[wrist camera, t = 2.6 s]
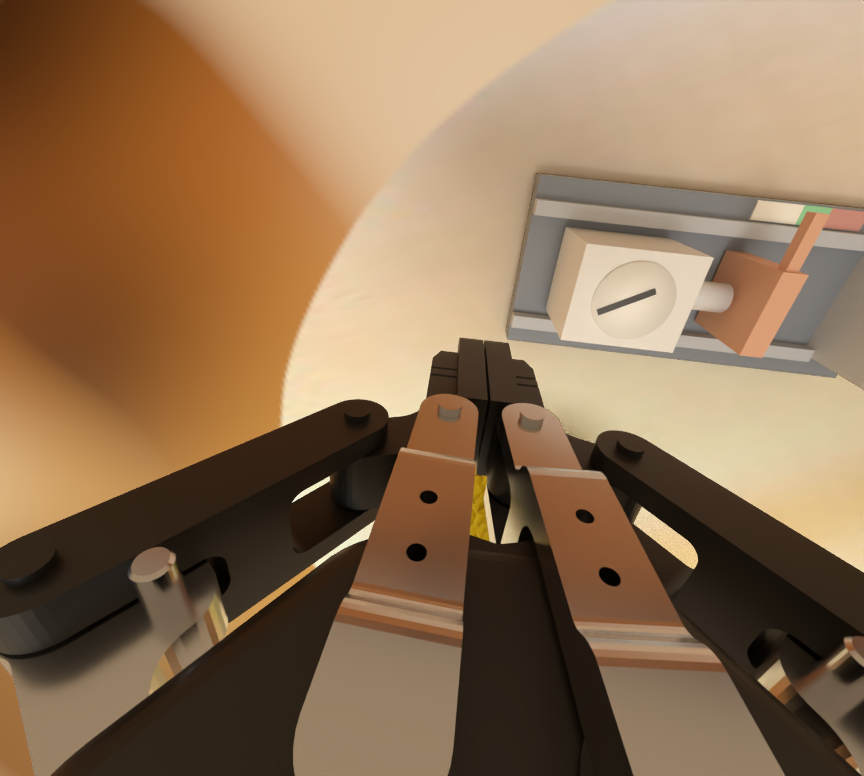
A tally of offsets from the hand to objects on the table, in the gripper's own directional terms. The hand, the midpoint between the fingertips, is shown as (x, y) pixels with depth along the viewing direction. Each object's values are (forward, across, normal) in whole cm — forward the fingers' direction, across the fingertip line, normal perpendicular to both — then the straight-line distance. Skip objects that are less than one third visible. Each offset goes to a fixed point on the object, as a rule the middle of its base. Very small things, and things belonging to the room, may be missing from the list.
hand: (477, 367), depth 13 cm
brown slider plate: (+14, -15, -1) cm, 21 cm away
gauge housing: (+14, -10, 0) cm, 17 cm away
